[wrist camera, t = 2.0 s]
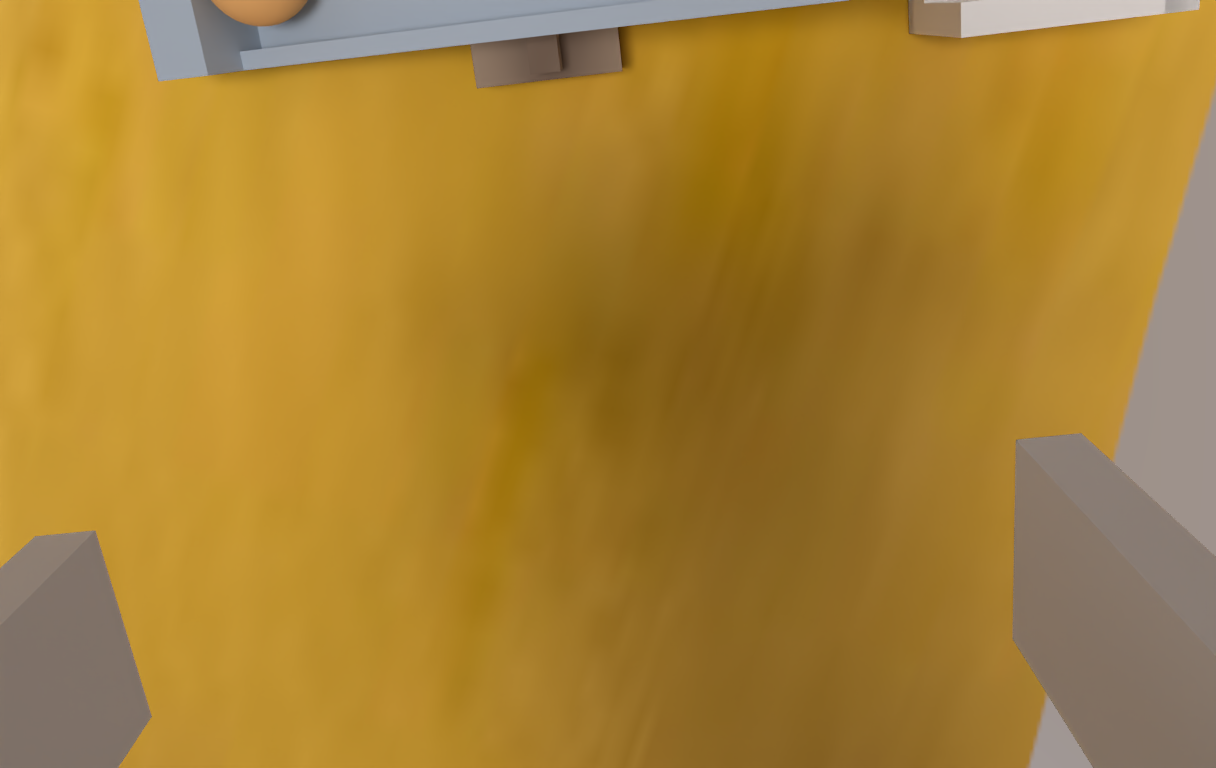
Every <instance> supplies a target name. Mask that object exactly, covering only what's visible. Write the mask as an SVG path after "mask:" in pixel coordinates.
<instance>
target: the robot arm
mask: <svg viewBox="0 0 1216 768" xmlns="http://www.w3.org/2000/svg"><path fill="white" fill-rule="evenodd" d="M1013 640H1014V642H1015V643H1016V645H1017V647H1018V648H1019V650H1020V651H1021V653H1022V655H1023V656H1024V658H1025V659H1026V661H1027V663H1028V664H1029V666H1030V667H1031V669H1032V671H1033V672H1034V674H1035V675H1036V677H1037V679H1038V680H1039V682H1040V683H1041V685H1042V687H1043V688H1044V690H1045V691H1046V693H1047V695H1048V696H1049V698H1050V699H1051V701H1052V702H1053V704H1054V706H1055V707H1056V709H1057V710H1058V712H1059V714H1060V715H1061V717H1062V718H1063V719H1064V722H1065V723H1066V725H1067V726H1068V728H1069V730H1070V731H1071V733H1072V734H1073V736H1074V737H1075V739H1076V741H1077V742H1078V744H1079V746H1080V747H1081V749H1082V750H1083V752H1084V754H1085V755H1086V757H1087V758H1088V760H1089V762H1090V763H1091V765H1092V766H1093V768H1216V556H1214V555H1213V554H1212V553H1211V552H1210V551H1209V550H1208V549H1207V548H1206V547H1205V546H1204V545H1203V544H1201V543H1200V542H1199V541H1198V540H1197V539H1196V538H1195V537H1194V536H1193V535H1192V534H1190V533H1189V532H1188V531H1187V530H1186V529H1185V528H1184V527H1183V526H1182V525H1181V524H1180V523H1179V522H1177V521H1176V520H1175V519H1174V518H1173V517H1172V516H1171V515H1170V514H1169V513H1168V512H1166V511H1165V510H1164V509H1163V508H1162V507H1161V506H1160V505H1159V504H1158V503H1157V502H1156V501H1154V500H1153V499H1152V498H1151V497H1150V496H1149V495H1148V494H1147V493H1146V492H1145V491H1143V490H1142V489H1141V488H1140V487H1139V486H1138V485H1137V484H1136V483H1135V482H1134V481H1133V480H1132V479H1130V478H1129V477H1128V476H1127V475H1126V474H1125V473H1124V472H1122V470H1121V469H1120V468H1119V467H1117V466H1116V465H1115V464H1114V463H1113V462H1112V461H1111V460H1110V459H1109V458H1108V457H1107V456H1105V455H1104V454H1103V453H1102V452H1101V451H1100V450H1099V449H1098V448H1097V447H1096V446H1094V445H1093V444H1092V443H1091V442H1090V441H1089V440H1088V439H1087V438H1086V437H1085V436H1084V435H1082V434H1081V433H1080V434H1070V435H1060V436H1050V437H1040V438H1029V439H1019V440H1016V467H1015V527H1014V587H1013ZM151 717H152V716H151V713H150V710H149V706H148V703H147V700H146V696H145V693H144V690H143V686H142V683H141V680H140V677H139V673H138V670H137V667H136V663H135V660H134V657H133V653H132V650H131V647H130V644H129V640H128V637H127V634H126V630H125V627H124V624H123V620H122V617H121V614H120V611H119V607H118V604H117V601H116V597H115V594H114V591H113V587H112V584H111V581H110V578H109V574H108V571H107V568H106V564H105V561H104V558H103V555H102V551H101V548H100V545H99V541H98V538H97V535H96V531H86V532H76V533H66V534H56V535H46V536H35V537H34V538H33V539H32V540H31V541H30V542H29V543H28V544H26V545H25V546H24V547H23V548H22V549H21V550H20V551H19V552H18V553H16V554H15V555H14V556H13V557H12V558H11V559H10V560H9V561H8V562H7V563H5V564H4V565H3V566H2V567H1V568H0V768H118V767H119V765H120V764H121V762H122V761H123V759H124V758H125V756H126V755H127V753H128V752H129V750H130V749H131V747H132V746H133V744H134V743H135V741H136V740H137V738H138V737H139V735H140V733H141V732H142V730H143V729H144V727H145V726H146V724H147V723H148V721H149V720H150V718H151Z"/></svg>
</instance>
